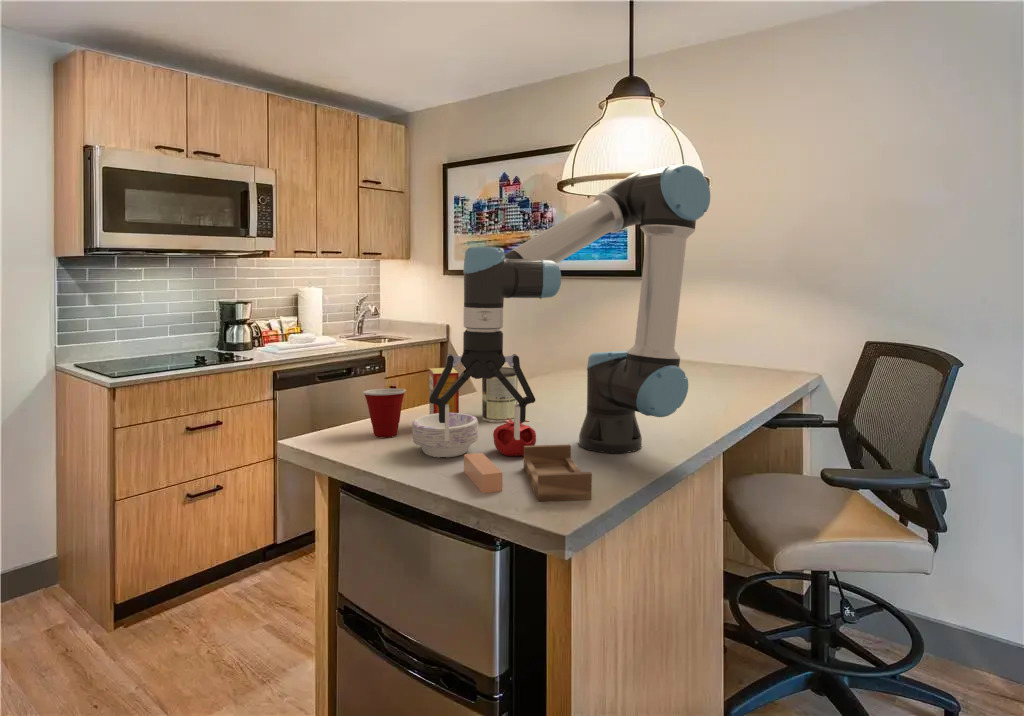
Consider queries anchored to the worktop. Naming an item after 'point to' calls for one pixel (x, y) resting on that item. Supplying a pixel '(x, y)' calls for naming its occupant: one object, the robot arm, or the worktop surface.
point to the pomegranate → (513, 438)
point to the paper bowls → (433, 434)
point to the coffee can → (498, 397)
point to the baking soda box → (443, 389)
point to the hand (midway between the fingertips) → (482, 438)
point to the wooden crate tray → (555, 474)
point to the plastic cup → (385, 410)
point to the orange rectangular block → (483, 472)
